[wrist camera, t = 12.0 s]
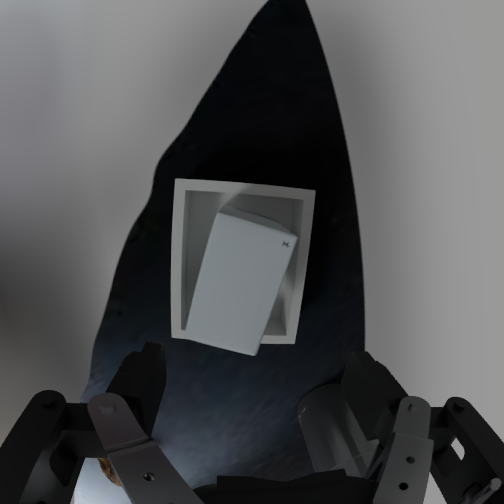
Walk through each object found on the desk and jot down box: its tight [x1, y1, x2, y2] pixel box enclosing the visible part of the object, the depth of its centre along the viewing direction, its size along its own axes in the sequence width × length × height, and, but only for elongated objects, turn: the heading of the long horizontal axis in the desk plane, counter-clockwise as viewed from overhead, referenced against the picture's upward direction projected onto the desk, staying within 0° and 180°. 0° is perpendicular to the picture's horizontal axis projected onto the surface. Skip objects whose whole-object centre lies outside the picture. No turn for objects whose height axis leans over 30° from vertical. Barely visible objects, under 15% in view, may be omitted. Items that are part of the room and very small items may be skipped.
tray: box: [171, 179, 315, 344], centre depth 29 cm, size 13×16×5 cm
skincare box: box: [184, 205, 298, 356], centre depth 26 cm, size 10×6×10 cm, turn 163°
